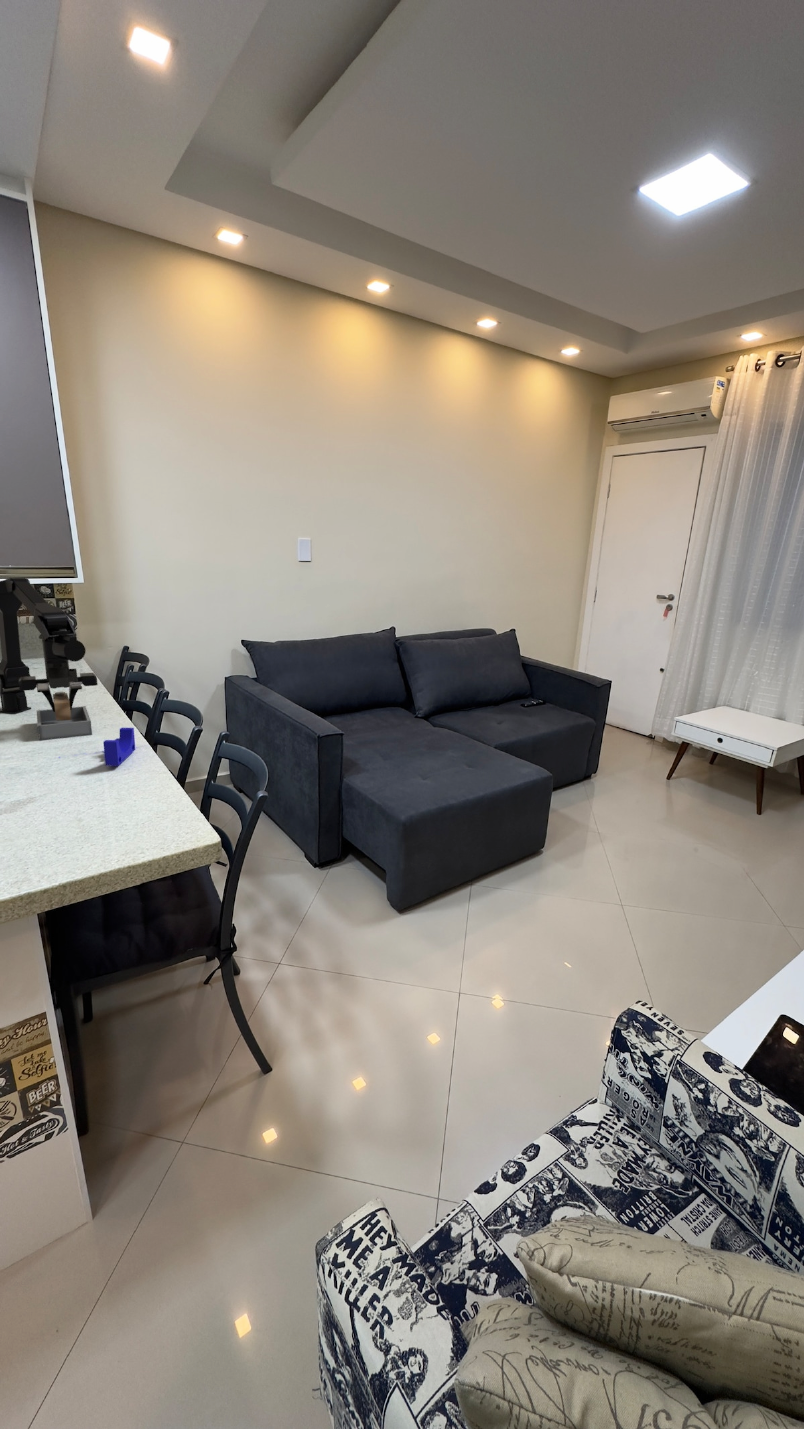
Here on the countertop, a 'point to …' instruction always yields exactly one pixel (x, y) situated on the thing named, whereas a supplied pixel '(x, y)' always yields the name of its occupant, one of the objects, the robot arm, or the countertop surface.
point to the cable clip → (119, 747)
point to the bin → (63, 724)
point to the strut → (62, 706)
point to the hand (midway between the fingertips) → (62, 710)
